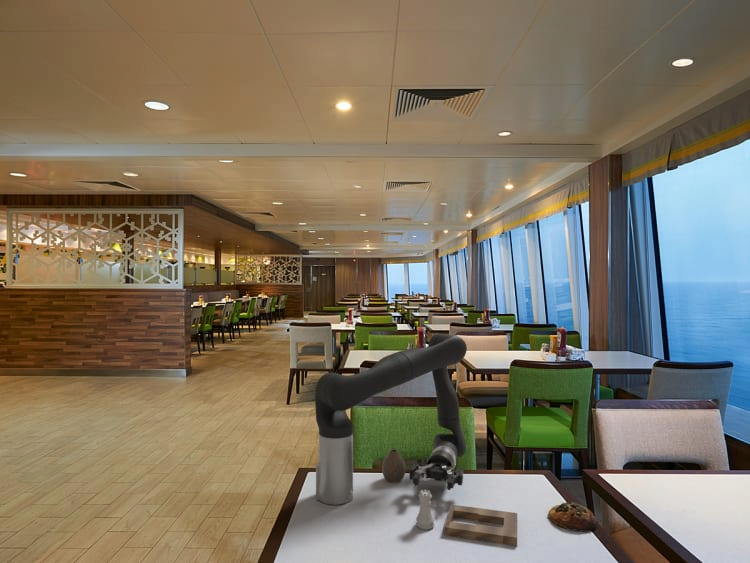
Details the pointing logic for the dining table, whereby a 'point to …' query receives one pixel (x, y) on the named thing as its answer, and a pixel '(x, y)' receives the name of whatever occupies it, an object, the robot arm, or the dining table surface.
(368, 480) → the dining table surface
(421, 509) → the rook chess piece
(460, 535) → the rectangular wooden frame
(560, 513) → the bread roll
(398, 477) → the vase
